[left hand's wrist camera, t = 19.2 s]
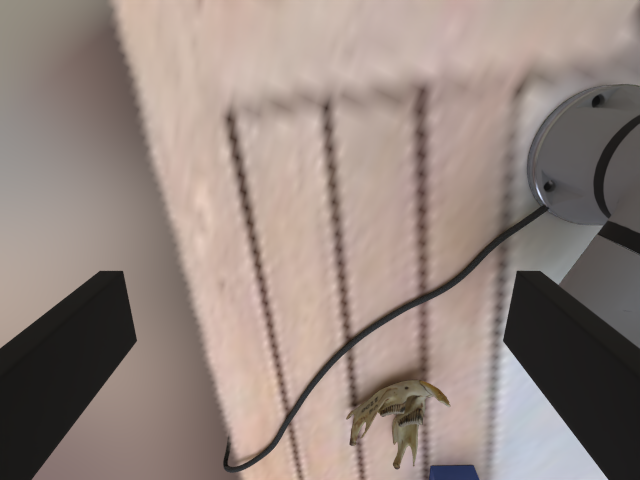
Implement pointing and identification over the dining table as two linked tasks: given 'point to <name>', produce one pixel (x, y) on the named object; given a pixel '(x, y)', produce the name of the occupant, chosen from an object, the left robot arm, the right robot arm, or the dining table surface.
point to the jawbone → (398, 413)
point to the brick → (453, 473)
